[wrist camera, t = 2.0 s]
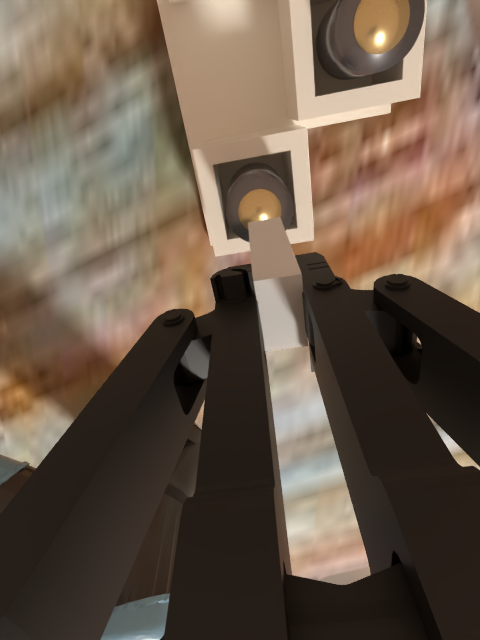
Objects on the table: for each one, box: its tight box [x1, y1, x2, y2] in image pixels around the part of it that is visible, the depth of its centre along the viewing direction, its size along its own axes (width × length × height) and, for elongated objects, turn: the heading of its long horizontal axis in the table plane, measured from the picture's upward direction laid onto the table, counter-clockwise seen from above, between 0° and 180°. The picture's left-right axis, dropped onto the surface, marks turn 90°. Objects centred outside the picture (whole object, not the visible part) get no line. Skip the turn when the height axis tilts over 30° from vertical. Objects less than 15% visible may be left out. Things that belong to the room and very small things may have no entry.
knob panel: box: [157, 0, 427, 257], centre depth 25 cm, size 17×27×7 cm, turn 10°
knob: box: [226, 162, 294, 242], centre depth 26 cm, size 4×4×6 cm
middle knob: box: [316, 0, 425, 80], centre depth 21 cm, size 4×4×6 cm
